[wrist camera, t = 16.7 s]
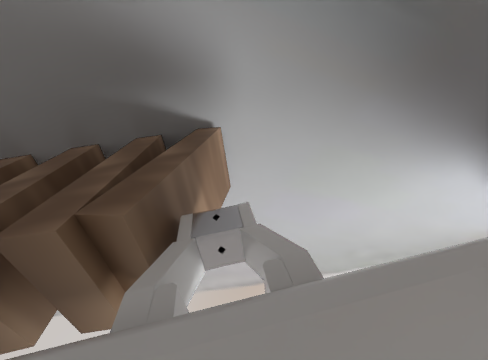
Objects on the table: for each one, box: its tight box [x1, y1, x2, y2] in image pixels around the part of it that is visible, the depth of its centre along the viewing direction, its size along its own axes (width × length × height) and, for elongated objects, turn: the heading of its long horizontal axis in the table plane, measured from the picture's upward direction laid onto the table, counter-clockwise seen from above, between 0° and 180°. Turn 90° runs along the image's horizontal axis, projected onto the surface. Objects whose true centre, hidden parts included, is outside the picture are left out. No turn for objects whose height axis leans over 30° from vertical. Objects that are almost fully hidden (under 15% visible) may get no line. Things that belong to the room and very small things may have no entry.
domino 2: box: [0, 135, 166, 334], centre depth 11 cm, size 2×5×10 cm, turn 7°
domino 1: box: [0, 144, 106, 354], centre depth 11 cm, size 2×5×10 cm, turn 7°
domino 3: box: [74, 127, 231, 292], centre depth 11 cm, size 2×5×10 cm, turn 6°
